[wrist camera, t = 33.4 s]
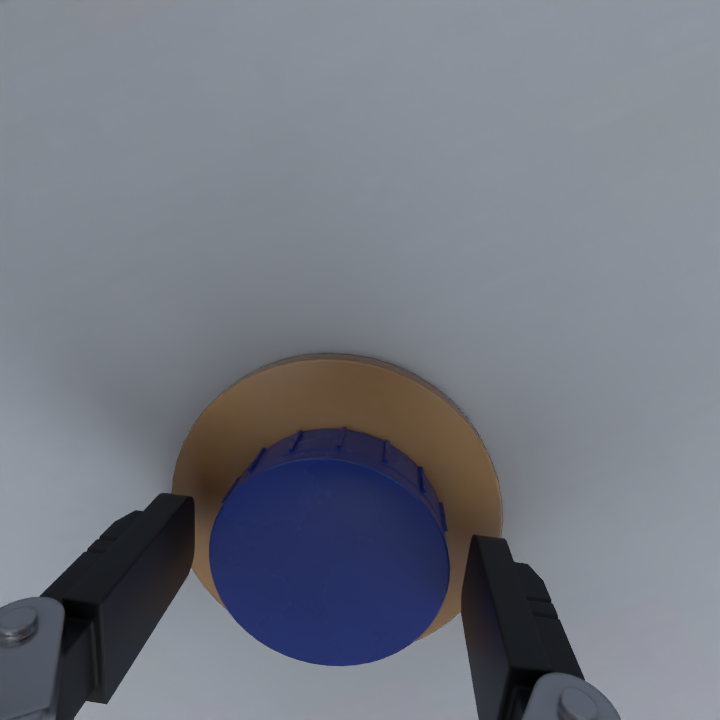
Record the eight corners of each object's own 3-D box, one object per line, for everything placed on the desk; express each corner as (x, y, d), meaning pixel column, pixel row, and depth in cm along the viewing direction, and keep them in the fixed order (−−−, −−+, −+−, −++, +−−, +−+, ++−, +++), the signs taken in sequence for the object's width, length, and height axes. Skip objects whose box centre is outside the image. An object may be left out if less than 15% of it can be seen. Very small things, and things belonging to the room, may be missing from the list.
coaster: (179, 335, 12) (168, 339, 12) (526, 373, 12) (533, 380, 11) (181, 615, 14) (172, 631, 14) (470, 657, 14) (473, 675, 13)
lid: (353, 648, 13) (346, 705, 12) (192, 532, 13) (161, 575, 11) (490, 518, 12) (505, 562, 10) (316, 381, 11) (302, 405, 10)
